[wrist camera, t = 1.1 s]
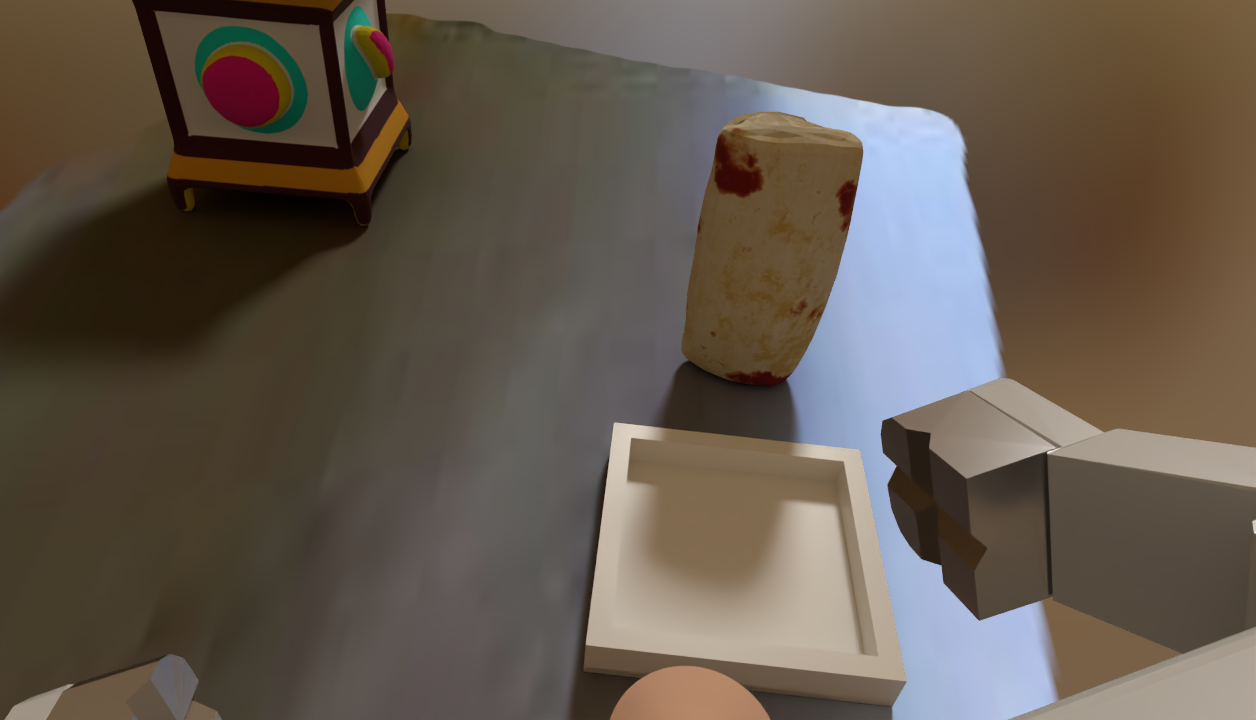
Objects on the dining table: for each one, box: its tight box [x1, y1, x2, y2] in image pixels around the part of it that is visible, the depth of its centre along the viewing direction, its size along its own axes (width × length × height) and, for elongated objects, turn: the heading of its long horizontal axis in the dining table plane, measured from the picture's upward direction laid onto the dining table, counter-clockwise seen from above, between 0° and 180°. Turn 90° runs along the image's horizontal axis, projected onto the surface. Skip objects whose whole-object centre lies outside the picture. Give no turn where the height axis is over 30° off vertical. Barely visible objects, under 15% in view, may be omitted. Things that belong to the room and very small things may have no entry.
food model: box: [681, 112, 863, 386], centre depth 56 cm, size 10×7×20 cm
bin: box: [583, 423, 907, 706], centre depth 47 cm, size 16×16×2 cm
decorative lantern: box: [132, 0, 412, 226], centre depth 70 cm, size 20×20×30 cm
